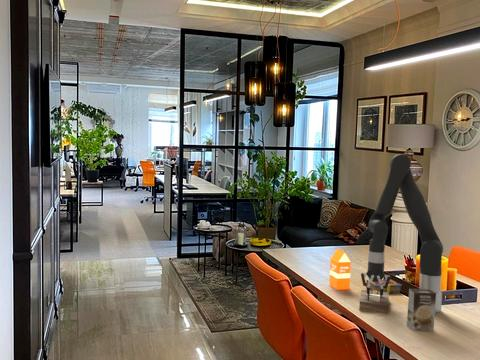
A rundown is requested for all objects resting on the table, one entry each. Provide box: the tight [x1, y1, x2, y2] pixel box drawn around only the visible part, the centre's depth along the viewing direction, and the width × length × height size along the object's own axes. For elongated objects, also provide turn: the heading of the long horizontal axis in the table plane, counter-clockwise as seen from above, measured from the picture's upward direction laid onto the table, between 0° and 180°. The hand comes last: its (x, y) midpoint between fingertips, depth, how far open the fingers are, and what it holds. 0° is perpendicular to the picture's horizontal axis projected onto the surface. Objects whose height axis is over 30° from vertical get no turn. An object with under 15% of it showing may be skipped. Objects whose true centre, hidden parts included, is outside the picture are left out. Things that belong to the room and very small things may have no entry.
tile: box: [369, 294, 380, 302], centre depth 225 cm, size 10×5×2 cm, turn 164°
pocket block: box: [358, 289, 390, 314], centre depth 227 cm, size 20×13×4 cm, turn 163°
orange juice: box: [329, 248, 352, 291], centre depth 254 cm, size 8×9×20 cm
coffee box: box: [406, 288, 436, 332], centre depth 198 cm, size 9×6×16 cm
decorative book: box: [365, 278, 403, 294], centre depth 251 cm, size 11×16×5 cm
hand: (374, 295), depth 228 cm, fingers closed on tile, 5 cm apart
